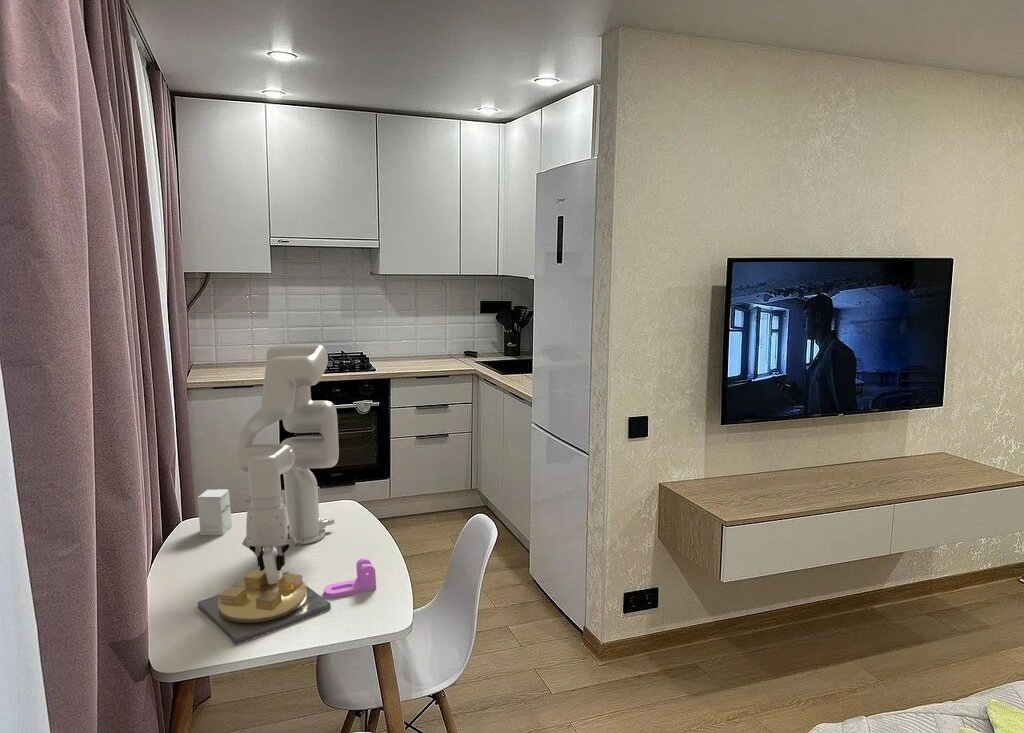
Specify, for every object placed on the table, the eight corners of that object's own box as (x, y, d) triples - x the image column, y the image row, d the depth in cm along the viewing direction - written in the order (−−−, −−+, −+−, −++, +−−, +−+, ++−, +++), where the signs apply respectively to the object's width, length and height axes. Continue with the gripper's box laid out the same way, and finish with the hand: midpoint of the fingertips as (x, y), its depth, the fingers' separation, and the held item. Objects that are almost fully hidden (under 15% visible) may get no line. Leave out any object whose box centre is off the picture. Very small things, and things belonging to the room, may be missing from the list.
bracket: (371, 580, 203) (369, 556, 201) (376, 589, 198) (375, 564, 196) (322, 591, 197) (320, 566, 196) (326, 600, 192) (324, 574, 191)
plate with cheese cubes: (251, 578, 201) (249, 562, 200) (322, 586, 196) (321, 570, 195) (200, 617, 181) (198, 600, 180) (277, 627, 176) (276, 609, 175)
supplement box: (223, 535, 234) (219, 497, 232) (199, 535, 234) (196, 497, 232) (232, 526, 241) (229, 488, 239) (210, 526, 242) (206, 488, 239)
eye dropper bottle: (261, 584, 193) (252, 540, 191) (276, 574, 198) (267, 531, 196) (274, 585, 191) (265, 541, 189) (289, 575, 196) (280, 532, 194)
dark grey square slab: (287, 576, 205) (287, 571, 205) (330, 608, 188) (330, 602, 187) (198, 607, 190) (197, 601, 189) (236, 645, 172) (235, 638, 172)
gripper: (228, 506, 187) (234, 575, 190) (295, 505, 187) (300, 574, 190) (238, 496, 195) (244, 562, 198) (303, 495, 194) (308, 561, 198)
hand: (271, 567), depth 194 cm, fingers closed on eye dropper bottle, 3 cm apart
